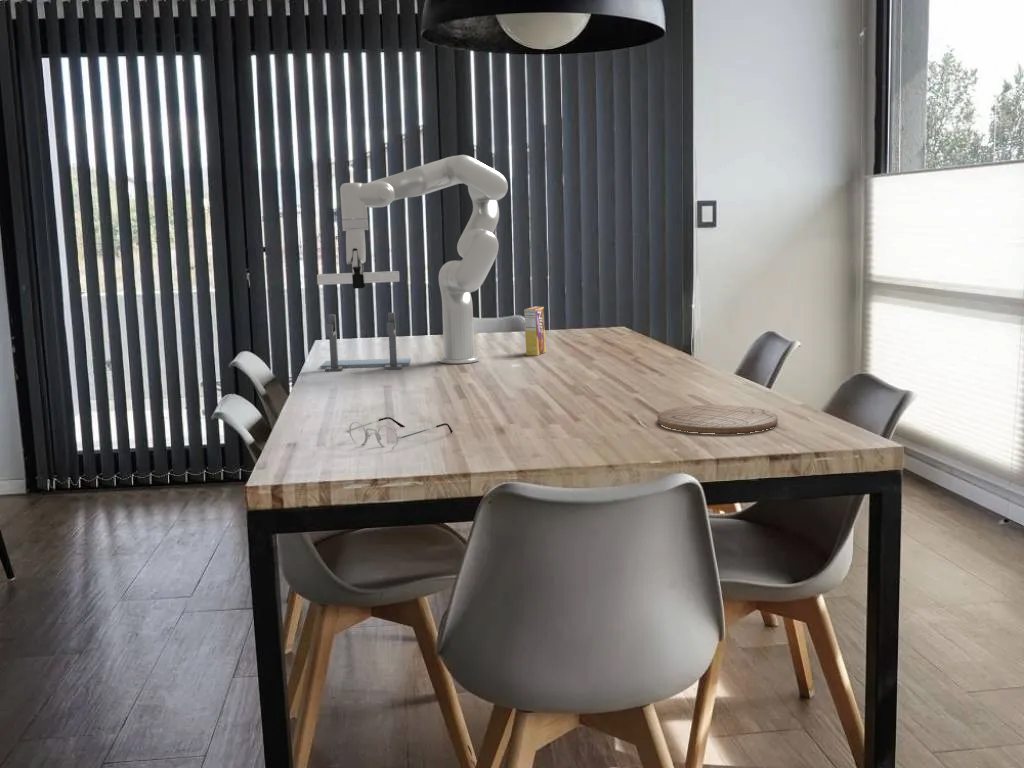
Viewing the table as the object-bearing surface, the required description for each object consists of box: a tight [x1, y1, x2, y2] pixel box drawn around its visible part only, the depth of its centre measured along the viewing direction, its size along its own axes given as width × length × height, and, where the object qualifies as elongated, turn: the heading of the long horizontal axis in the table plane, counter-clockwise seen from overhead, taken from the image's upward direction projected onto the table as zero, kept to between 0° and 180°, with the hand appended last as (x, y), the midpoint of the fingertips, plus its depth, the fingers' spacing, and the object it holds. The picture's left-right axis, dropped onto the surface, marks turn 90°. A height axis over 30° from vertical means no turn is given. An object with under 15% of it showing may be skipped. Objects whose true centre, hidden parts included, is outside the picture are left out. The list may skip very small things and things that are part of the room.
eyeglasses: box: [346, 416, 454, 449], centre depth 211 cm, size 16×19×5 cm
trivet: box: [656, 404, 779, 434], centre depth 217 cm, size 25×25×2 cm
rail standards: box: [324, 312, 403, 373], centre depth 309 cm, size 10×23×17 cm, turn 92°
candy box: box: [523, 306, 547, 357], centre depth 334 cm, size 9×4×15 cm, turn 160°
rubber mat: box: [320, 357, 412, 370], centre depth 321 cm, size 11×27×1 cm, turn 92°
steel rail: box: [316, 270, 400, 286], centre depth 304 cm, size 2×24×3 cm, turn 92°
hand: (359, 287), depth 304 cm, fingers closed on steel rail, 2 cm apart
